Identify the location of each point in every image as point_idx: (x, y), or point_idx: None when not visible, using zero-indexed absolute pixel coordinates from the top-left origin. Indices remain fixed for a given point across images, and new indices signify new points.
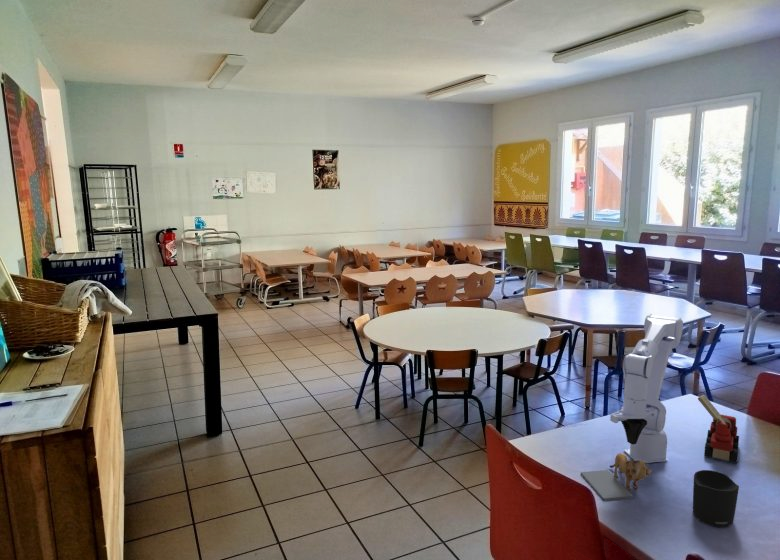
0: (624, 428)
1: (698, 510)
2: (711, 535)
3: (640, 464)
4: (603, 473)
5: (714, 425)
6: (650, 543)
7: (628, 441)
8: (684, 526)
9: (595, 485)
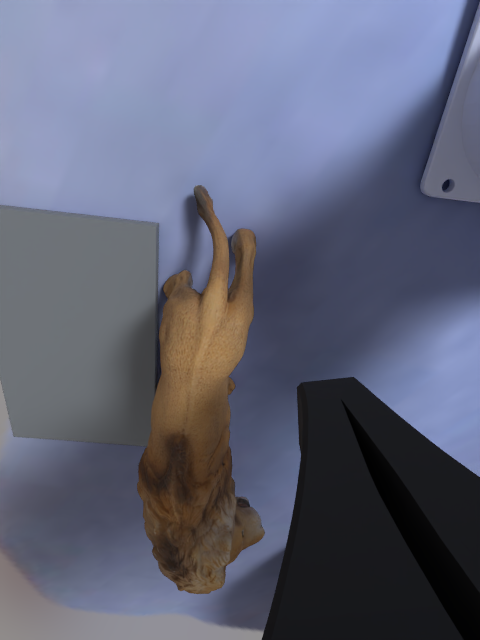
0: (290, 535)
1: None
2: (271, 594)
3: (178, 588)
4: (109, 256)
5: None
6: (81, 589)
7: (298, 408)
8: (228, 564)
9: (9, 350)
